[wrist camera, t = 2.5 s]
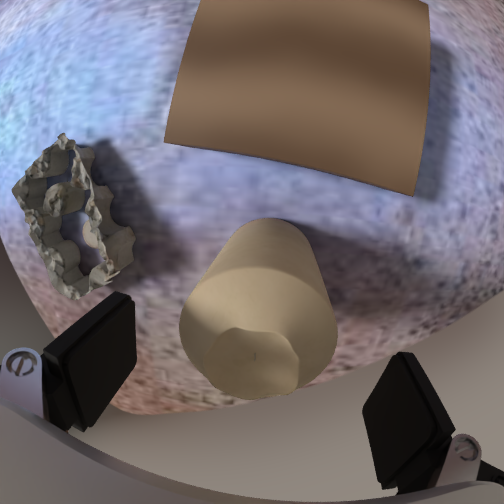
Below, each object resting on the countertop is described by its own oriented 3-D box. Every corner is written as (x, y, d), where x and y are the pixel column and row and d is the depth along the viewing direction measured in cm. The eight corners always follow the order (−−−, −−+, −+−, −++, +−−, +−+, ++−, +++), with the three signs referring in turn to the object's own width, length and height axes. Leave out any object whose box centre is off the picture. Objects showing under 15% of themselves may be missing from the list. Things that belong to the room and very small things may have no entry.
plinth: (229, -9, 12) (217, -41, 8) (404, 28, 11) (427, 4, 7) (190, 147, 15) (163, 142, 12) (384, 189, 15) (413, 196, 11)
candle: (262, 197, 16) (233, 243, 6) (331, 255, 17) (381, 359, 7) (208, 265, 18) (137, 365, 8) (274, 315, 18) (263, 440, 9)
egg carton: (151, 257, 18) (122, 280, 14) (87, 290, 20) (59, 313, 16) (92, 127, 16) (55, 124, 12) (38, 180, 17) (3, 187, 13)
